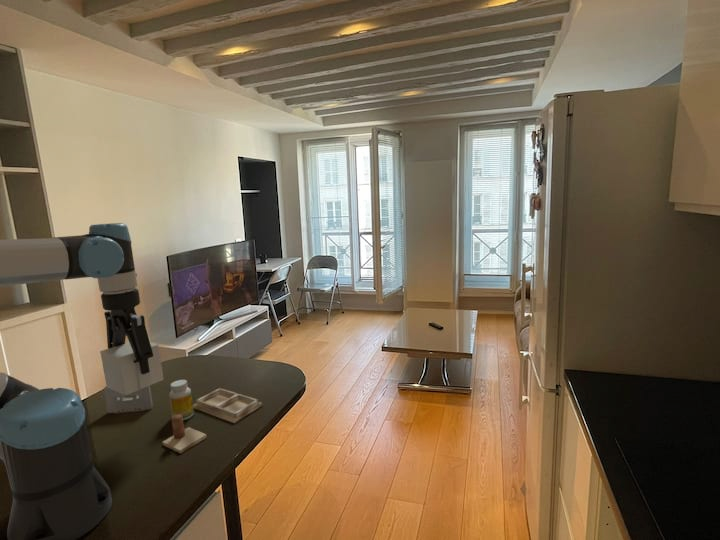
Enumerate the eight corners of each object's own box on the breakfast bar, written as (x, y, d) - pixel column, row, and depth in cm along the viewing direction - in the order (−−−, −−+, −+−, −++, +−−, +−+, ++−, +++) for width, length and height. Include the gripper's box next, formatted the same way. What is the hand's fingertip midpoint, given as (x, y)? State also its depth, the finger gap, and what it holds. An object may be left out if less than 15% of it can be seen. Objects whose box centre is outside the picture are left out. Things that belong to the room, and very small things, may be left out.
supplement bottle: (170, 416, 107) (165, 382, 106) (190, 408, 111) (186, 376, 109) (175, 424, 103) (170, 389, 101) (196, 416, 106) (192, 382, 105)
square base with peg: (180, 453, 90) (177, 430, 89) (162, 445, 94) (159, 422, 93) (206, 437, 96) (203, 415, 95) (189, 430, 100) (186, 408, 99)
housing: (125, 395, 90) (119, 357, 88) (106, 387, 95) (100, 351, 93) (163, 379, 97) (158, 344, 95) (144, 372, 102) (138, 339, 100)
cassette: (154, 406, 113) (150, 381, 112) (151, 410, 111) (147, 384, 110) (110, 411, 112) (105, 385, 111) (106, 414, 110) (102, 388, 109)
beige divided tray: (234, 423, 102) (233, 416, 101) (193, 408, 111) (192, 401, 111) (262, 405, 110) (262, 398, 110) (222, 392, 119) (221, 386, 119)
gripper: (161, 290, 89) (174, 384, 93) (113, 283, 101) (127, 367, 105) (126, 298, 83) (142, 398, 87) (80, 290, 95) (96, 378, 99)
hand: (134, 381), depth 96 cm, fingers closed on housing, 9 cm apart
